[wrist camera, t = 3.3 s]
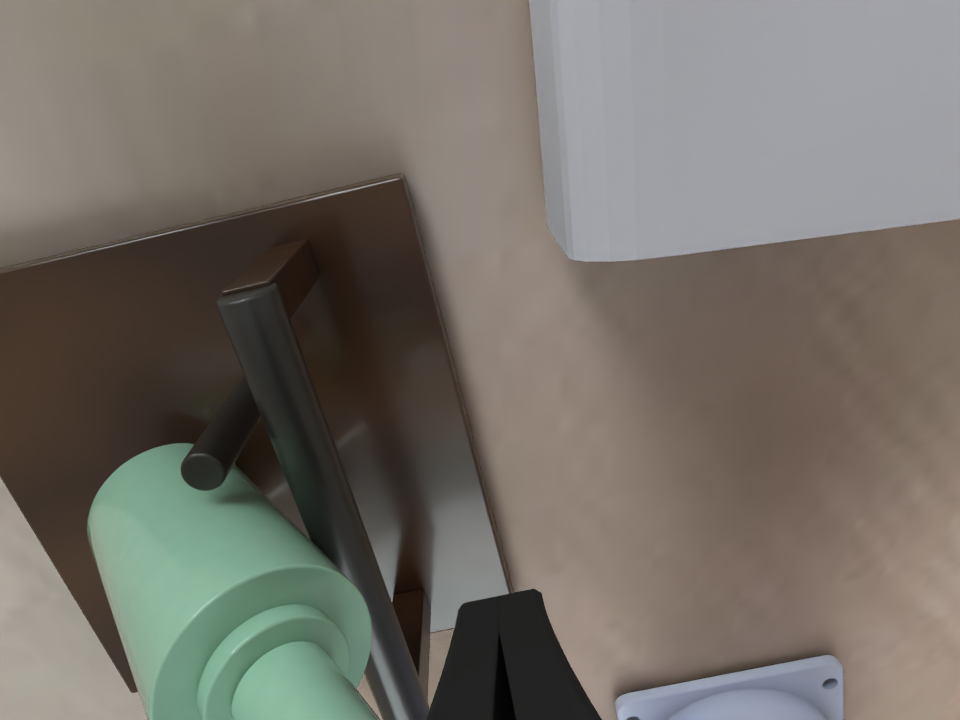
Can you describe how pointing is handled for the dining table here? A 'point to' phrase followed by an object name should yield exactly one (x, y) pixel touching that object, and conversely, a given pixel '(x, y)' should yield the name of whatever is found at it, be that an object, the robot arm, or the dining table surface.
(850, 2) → the charger
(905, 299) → the dining table surface
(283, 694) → the bottle
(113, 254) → the rack
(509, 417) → the dining table surface
